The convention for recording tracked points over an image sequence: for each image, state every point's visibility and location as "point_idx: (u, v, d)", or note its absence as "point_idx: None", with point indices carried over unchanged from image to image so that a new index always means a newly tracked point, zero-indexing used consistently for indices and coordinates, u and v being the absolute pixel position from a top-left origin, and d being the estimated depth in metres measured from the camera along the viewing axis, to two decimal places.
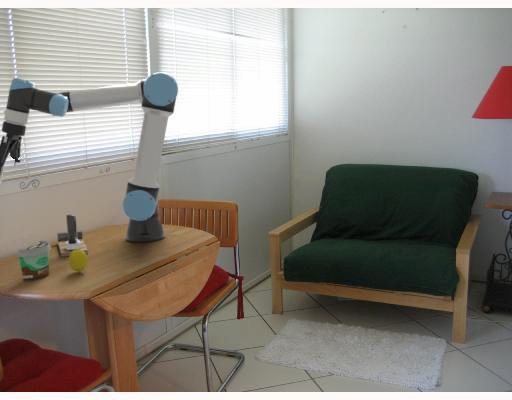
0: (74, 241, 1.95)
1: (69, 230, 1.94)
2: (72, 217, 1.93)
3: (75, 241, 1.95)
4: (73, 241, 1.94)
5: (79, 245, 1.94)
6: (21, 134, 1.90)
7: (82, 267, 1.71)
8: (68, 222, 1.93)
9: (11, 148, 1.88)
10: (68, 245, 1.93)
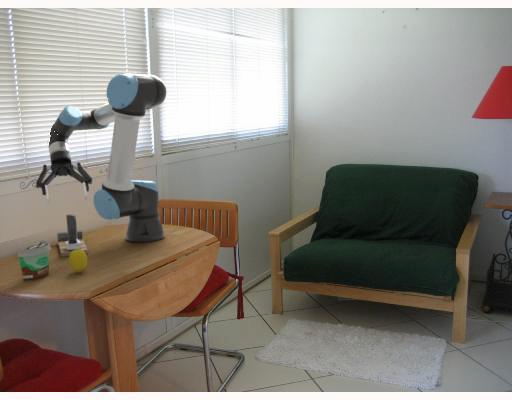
0: (74, 241, 1.95)
1: (69, 230, 1.94)
2: (72, 217, 1.93)
3: (75, 241, 1.95)
4: (73, 241, 1.94)
5: (79, 245, 1.94)
6: (56, 157, 2.08)
7: (82, 267, 1.71)
8: (68, 222, 1.93)
9: (52, 171, 2.06)
10: (68, 245, 1.93)
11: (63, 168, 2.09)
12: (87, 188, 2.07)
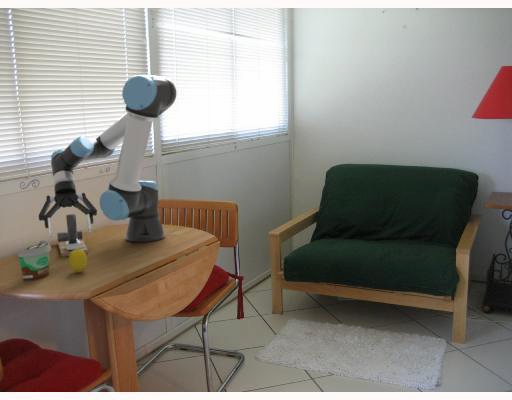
0: (74, 241, 1.95)
1: (69, 230, 1.94)
2: (72, 217, 1.93)
3: (75, 241, 1.95)
4: (73, 241, 1.94)
5: (79, 245, 1.94)
6: (60, 187, 2.01)
7: (82, 267, 1.71)
8: (68, 222, 1.93)
9: None
10: (68, 245, 1.93)
11: (67, 199, 2.01)
12: (91, 220, 1.99)
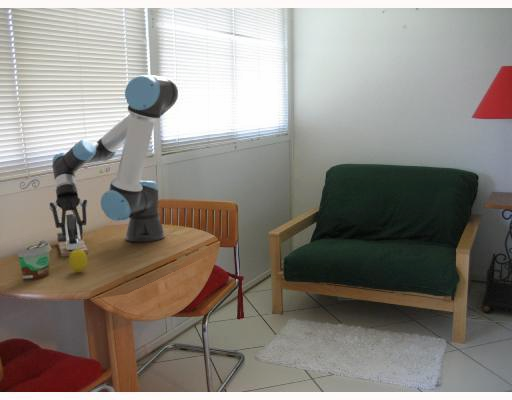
0: (74, 241, 1.95)
1: (69, 230, 1.93)
2: (72, 217, 1.93)
3: (75, 241, 1.95)
4: (73, 241, 1.94)
5: (79, 245, 1.94)
6: (62, 191, 1.99)
7: (82, 267, 1.71)
8: (68, 222, 1.93)
9: (62, 208, 1.97)
10: (68, 245, 1.93)
11: (69, 202, 2.00)
12: (81, 230, 1.95)
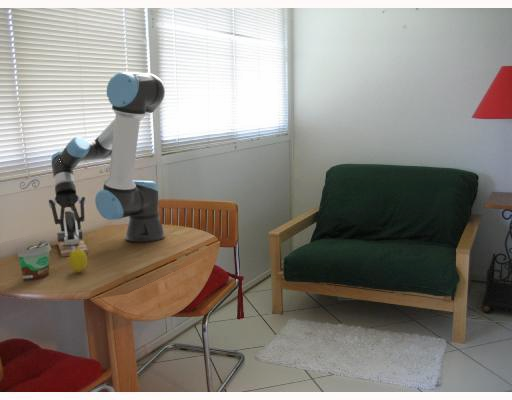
0: (72, 237, 2.01)
1: (68, 226, 2.00)
2: (70, 214, 1.99)
3: (73, 237, 2.01)
4: (71, 237, 2.01)
5: (77, 241, 2.01)
6: (61, 188, 2.06)
7: (82, 267, 1.71)
8: (67, 218, 1.99)
9: (61, 204, 2.03)
10: (66, 241, 1.99)
11: (68, 199, 2.06)
12: (79, 226, 2.01)
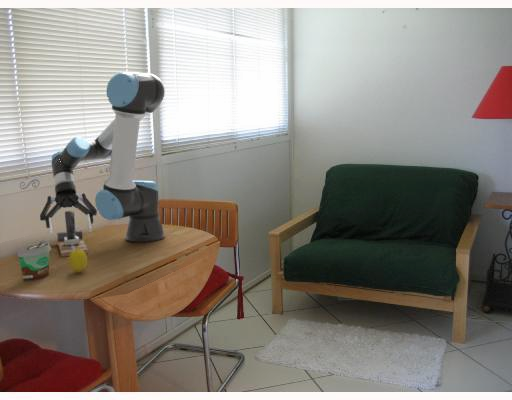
0: (72, 237, 2.01)
1: (68, 226, 2.00)
2: (70, 214, 1.99)
3: (73, 237, 2.01)
4: (71, 237, 2.01)
5: (77, 241, 2.01)
6: (61, 188, 2.06)
7: (82, 267, 1.71)
8: (67, 218, 1.99)
9: (56, 203, 2.03)
10: (66, 241, 1.99)
11: (67, 199, 2.06)
12: (91, 220, 2.04)
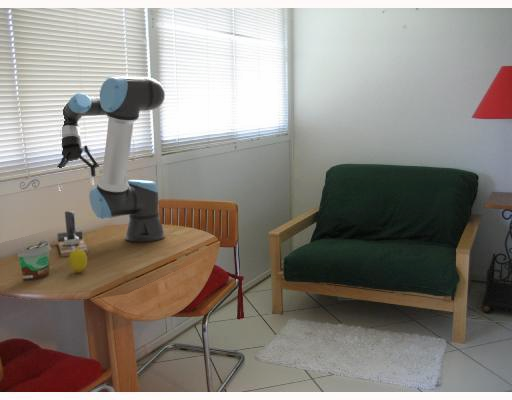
0: (72, 237, 2.01)
1: (68, 226, 2.00)
2: (70, 214, 1.99)
3: (73, 237, 2.01)
4: (71, 237, 2.01)
5: (77, 241, 2.01)
6: (64, 144, 2.17)
7: (82, 267, 1.71)
8: (67, 218, 1.99)
9: None
10: (66, 241, 1.99)
11: (72, 154, 2.19)
12: (92, 174, 2.16)
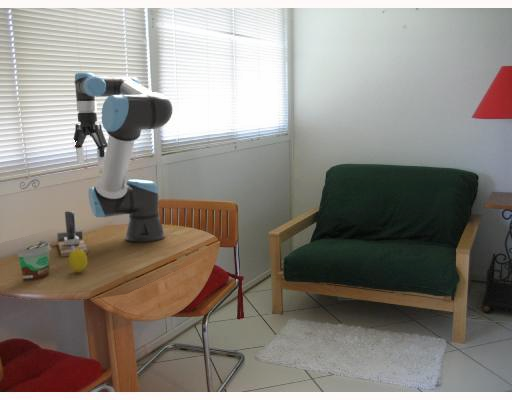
0: (72, 237, 2.01)
1: (68, 226, 2.00)
2: (70, 214, 1.99)
3: (73, 237, 2.01)
4: (71, 237, 2.01)
5: (77, 241, 2.01)
6: (78, 120, 2.18)
7: (82, 267, 1.71)
8: (67, 218, 1.99)
9: (79, 133, 2.22)
10: (66, 241, 1.99)
11: None
12: (100, 155, 2.17)
